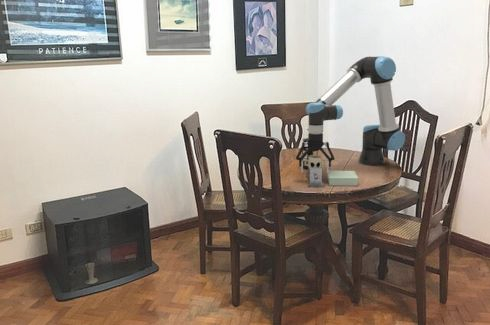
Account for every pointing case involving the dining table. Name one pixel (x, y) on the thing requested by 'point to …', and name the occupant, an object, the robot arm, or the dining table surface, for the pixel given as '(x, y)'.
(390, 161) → the dining table surface
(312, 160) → the character mug
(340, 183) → the stand
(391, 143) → the robot arm
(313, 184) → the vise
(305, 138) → the french press
